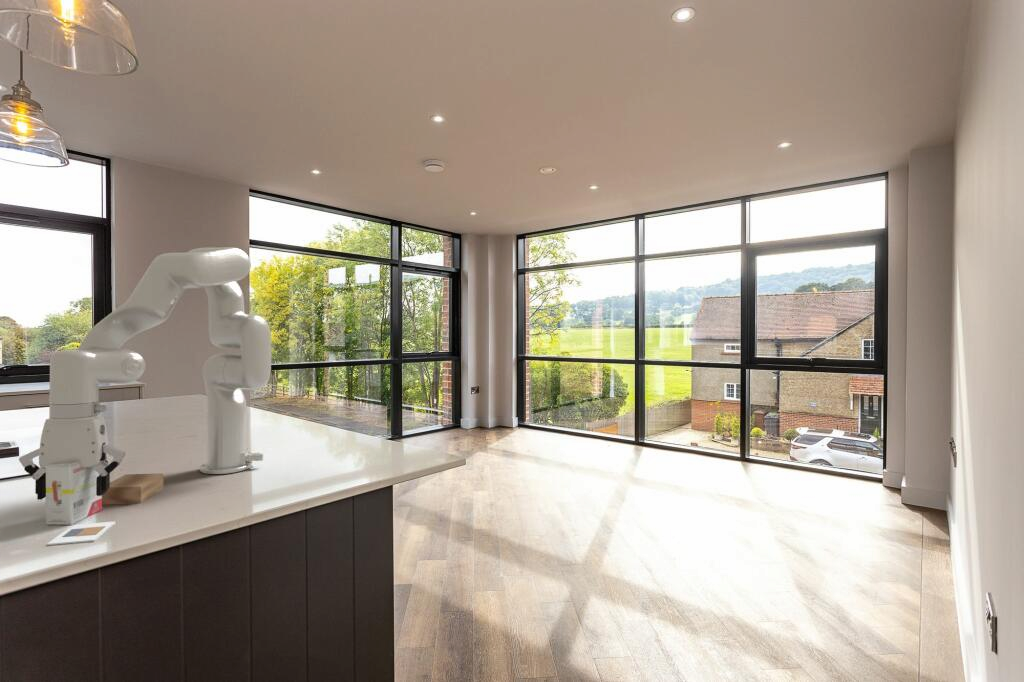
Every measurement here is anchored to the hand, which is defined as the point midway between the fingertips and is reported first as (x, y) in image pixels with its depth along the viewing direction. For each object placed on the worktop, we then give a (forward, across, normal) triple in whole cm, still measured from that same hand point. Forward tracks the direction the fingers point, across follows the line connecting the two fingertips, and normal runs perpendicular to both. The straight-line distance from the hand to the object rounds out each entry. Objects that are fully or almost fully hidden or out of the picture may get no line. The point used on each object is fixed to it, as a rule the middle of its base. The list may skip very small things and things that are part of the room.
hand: (73, 495), depth 104 cm
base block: (+5, -6, -12) cm, 15 cm away
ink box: (+5, 0, 0) cm, 5 cm away
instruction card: (+4, -6, +10) cm, 12 cm away
